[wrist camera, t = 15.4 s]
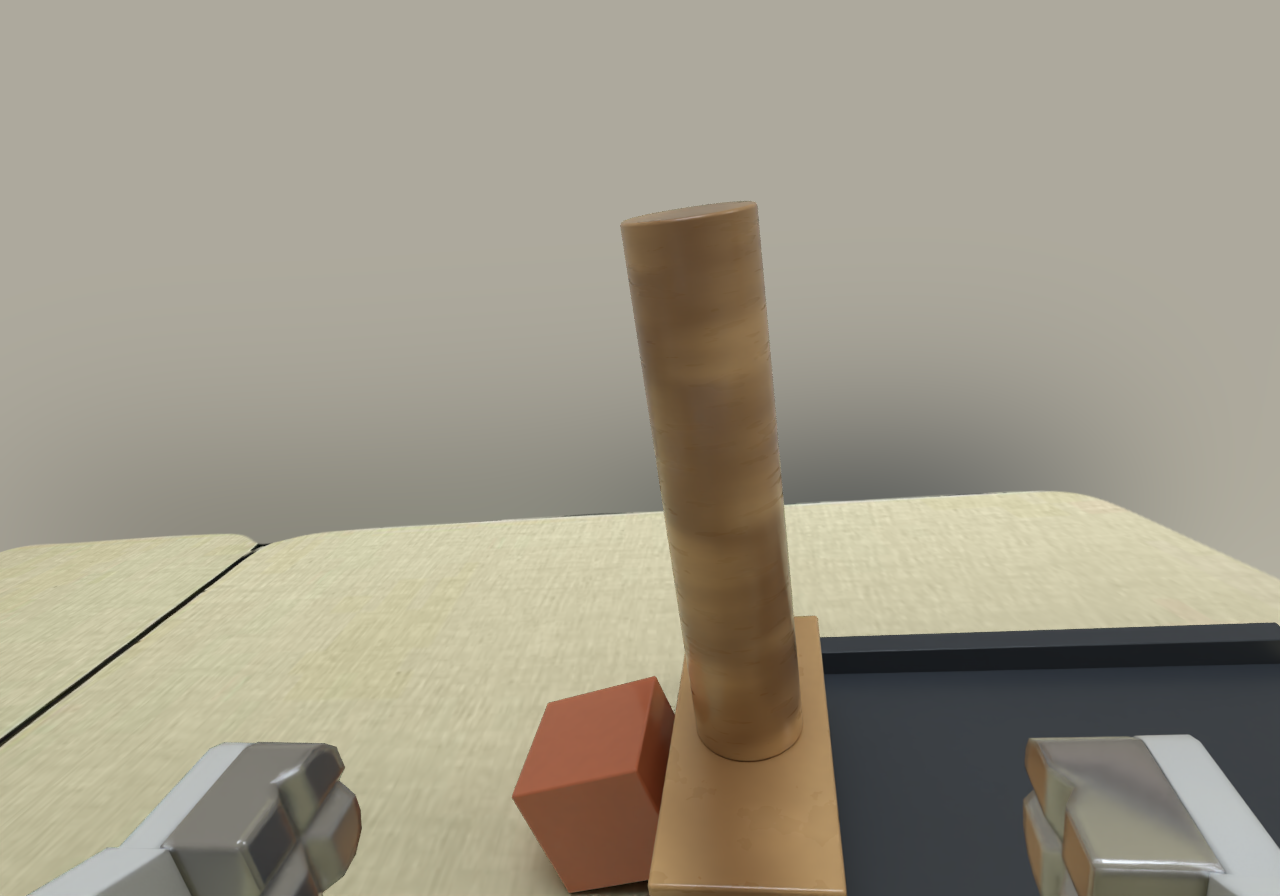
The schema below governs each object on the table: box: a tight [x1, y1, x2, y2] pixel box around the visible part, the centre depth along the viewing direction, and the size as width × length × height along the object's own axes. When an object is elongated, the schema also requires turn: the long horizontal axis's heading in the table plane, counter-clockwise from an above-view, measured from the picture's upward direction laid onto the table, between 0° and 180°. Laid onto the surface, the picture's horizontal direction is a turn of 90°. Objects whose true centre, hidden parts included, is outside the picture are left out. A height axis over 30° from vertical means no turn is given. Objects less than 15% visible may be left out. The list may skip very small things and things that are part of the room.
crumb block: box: [512, 676, 675, 893], centre depth 23 cm, size 4×4×4 cm
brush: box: [620, 201, 847, 896], centre depth 20 cm, size 4×10×18 cm, turn 172°
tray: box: [820, 623, 1280, 896], centre depth 21 cm, size 20×16×2 cm
